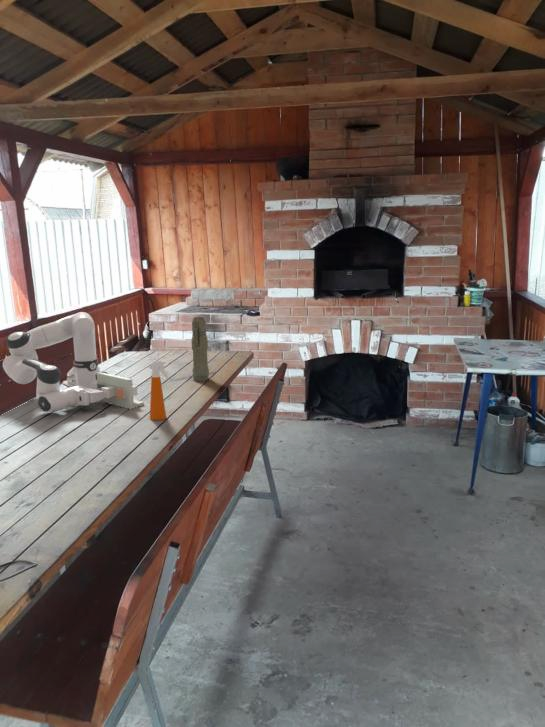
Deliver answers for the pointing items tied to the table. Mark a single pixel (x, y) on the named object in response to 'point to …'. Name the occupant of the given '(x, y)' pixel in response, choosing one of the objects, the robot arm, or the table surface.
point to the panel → (119, 383)
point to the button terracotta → (124, 392)
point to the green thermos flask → (199, 349)
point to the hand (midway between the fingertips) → (100, 389)
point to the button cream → (109, 391)
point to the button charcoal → (101, 385)
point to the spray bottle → (157, 392)
